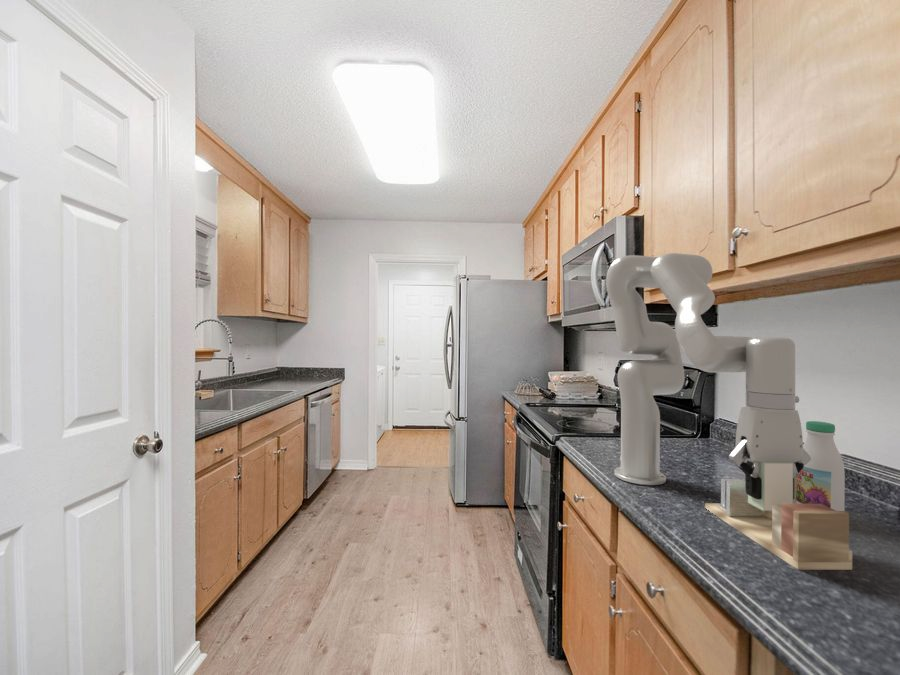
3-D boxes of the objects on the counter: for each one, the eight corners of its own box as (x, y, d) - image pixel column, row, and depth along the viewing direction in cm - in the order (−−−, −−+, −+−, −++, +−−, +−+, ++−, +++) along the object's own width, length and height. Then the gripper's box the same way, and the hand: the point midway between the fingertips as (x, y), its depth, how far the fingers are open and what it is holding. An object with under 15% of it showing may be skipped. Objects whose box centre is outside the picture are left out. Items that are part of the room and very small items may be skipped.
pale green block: (747, 502, 81) (748, 456, 81) (775, 502, 81) (775, 456, 81) (764, 511, 77) (764, 462, 77) (793, 511, 77) (793, 462, 77)
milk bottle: (820, 509, 92) (821, 419, 92) (855, 525, 84) (856, 426, 84) (786, 509, 92) (787, 419, 92) (818, 525, 84) (819, 426, 84)
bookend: (713, 506, 90) (713, 474, 90) (746, 506, 90) (746, 474, 90) (729, 516, 85) (730, 482, 85) (764, 516, 85) (764, 482, 85)
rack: (704, 508, 92) (705, 467, 92) (745, 508, 92) (745, 467, 92) (798, 569, 68) (798, 513, 68) (852, 569, 68) (852, 513, 68)
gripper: (797, 399, 83) (797, 489, 83) (712, 398, 83) (712, 489, 83) (832, 405, 75) (832, 504, 75) (739, 404, 75) (739, 504, 75)
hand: (769, 495), depth 79 cm, fingers closed on pale green block, 5 cm apart
